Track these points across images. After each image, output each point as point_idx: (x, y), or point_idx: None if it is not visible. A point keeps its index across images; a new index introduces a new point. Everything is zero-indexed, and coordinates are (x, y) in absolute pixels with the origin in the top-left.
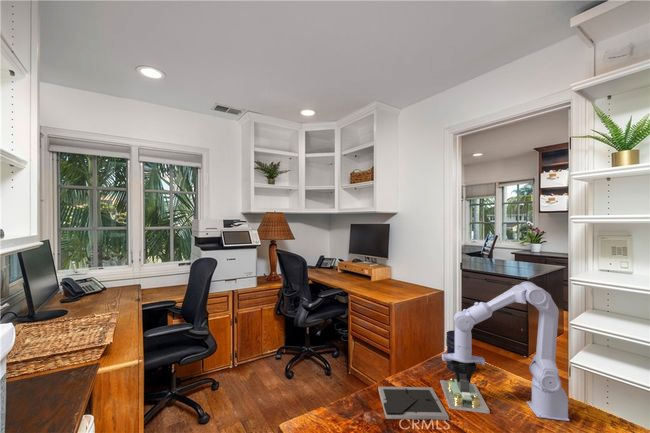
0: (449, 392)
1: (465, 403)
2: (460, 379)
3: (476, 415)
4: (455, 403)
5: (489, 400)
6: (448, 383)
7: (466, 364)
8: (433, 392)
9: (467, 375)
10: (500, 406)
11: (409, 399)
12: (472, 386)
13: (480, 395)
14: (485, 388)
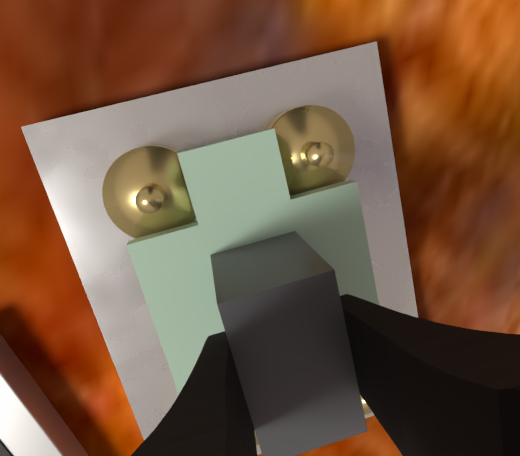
0: (146, 318)
1: None
2: (265, 431)
3: (336, 442)
4: None
5: (446, 226)
6: (120, 225)
7: (453, 406)
8: (5, 403)
9: (371, 373)
10: (502, 266)
11: None
12: (361, 223)
13: (398, 235)
14: (450, 43)
